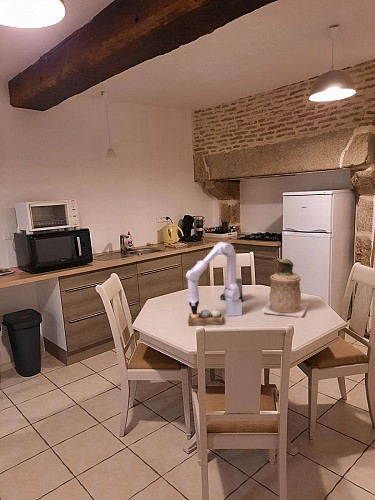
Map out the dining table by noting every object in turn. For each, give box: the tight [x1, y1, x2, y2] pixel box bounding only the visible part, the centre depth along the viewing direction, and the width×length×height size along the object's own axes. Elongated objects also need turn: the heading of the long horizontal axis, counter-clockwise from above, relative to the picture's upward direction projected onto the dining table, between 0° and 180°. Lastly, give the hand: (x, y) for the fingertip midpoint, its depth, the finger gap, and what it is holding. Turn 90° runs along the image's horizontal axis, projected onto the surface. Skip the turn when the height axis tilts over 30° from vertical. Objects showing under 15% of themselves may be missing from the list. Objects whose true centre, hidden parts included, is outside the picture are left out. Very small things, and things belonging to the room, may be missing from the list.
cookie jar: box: [260, 258, 309, 318], centre depth 211 cm, size 25×25×32 cm
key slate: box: [200, 309, 210, 318], centre depth 201 cm, size 5×5×4 cm
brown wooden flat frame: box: [187, 311, 224, 327], centre depth 201 cm, size 19×12×3 cm, turn 86°
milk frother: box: [219, 277, 244, 303], centre depth 236 cm, size 14×16×15 cm
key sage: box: [211, 309, 221, 318], centre depth 200 cm, size 5×5×4 cm
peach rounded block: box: [190, 312, 200, 318], centre depth 201 cm, size 5×5×4 cm
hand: (194, 314), depth 201 cm, fingers closed, pressing on peach rounded block
